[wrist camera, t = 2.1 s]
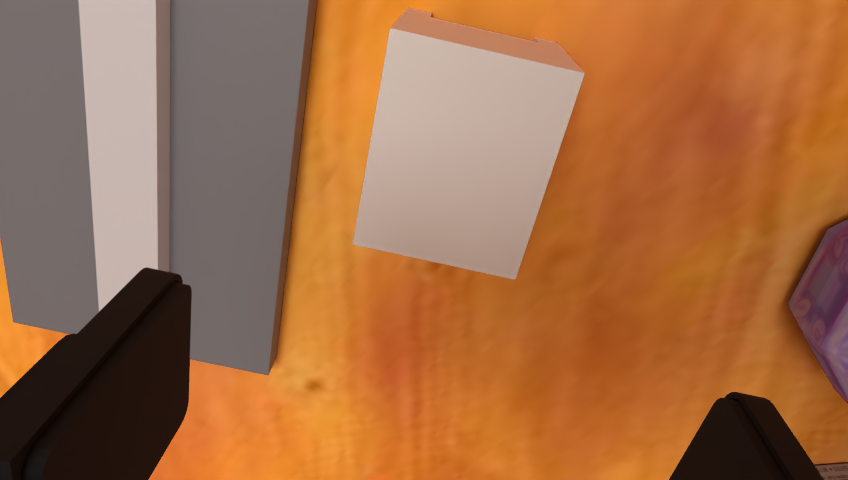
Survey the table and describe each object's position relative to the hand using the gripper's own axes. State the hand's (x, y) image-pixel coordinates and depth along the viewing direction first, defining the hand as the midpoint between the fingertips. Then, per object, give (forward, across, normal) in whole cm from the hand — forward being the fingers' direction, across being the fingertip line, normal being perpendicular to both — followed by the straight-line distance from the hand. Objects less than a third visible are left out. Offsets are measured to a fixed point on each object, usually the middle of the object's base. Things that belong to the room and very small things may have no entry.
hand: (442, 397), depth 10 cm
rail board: (+18, +14, +4) cm, 23 cm away
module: (+18, 0, 0) cm, 18 cm away
